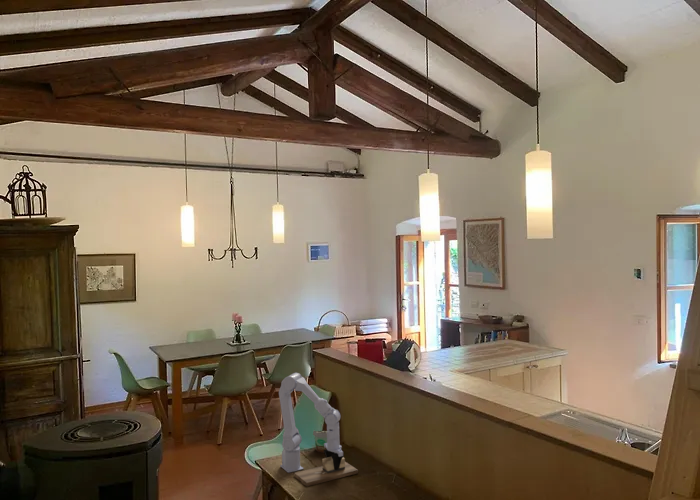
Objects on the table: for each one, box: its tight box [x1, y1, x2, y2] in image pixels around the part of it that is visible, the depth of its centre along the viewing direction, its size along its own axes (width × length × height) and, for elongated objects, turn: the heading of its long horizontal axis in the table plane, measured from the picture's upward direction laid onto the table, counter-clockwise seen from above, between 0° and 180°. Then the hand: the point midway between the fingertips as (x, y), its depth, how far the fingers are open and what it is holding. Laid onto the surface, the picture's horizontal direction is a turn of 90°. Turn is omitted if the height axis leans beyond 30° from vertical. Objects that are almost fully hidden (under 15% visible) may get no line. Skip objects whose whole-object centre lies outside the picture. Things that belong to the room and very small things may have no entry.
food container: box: [312, 429, 327, 454], centre depth 277 cm, size 12×6×10 cm, turn 81°
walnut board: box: [293, 461, 359, 487], centre depth 247 cm, size 13×26×2 cm, turn 121°
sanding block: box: [321, 456, 346, 473], centre depth 249 cm, size 5×9×5 cm, turn 120°
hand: (333, 467), depth 249 cm, fingers closed on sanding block, 5 cm apart
